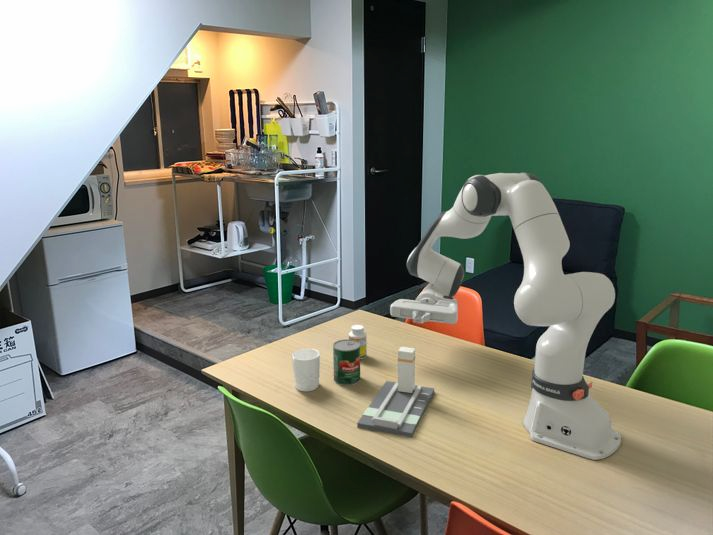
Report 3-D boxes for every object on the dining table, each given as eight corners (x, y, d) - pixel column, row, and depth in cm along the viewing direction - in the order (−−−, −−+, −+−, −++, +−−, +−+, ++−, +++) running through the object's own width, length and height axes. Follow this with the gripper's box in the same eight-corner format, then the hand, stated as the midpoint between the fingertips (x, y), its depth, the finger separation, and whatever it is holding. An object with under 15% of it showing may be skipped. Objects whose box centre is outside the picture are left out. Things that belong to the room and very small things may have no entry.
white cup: (319, 392, 161) (318, 360, 159) (291, 392, 162) (290, 360, 159) (321, 379, 169) (320, 348, 166) (295, 379, 169) (293, 348, 167)
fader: (414, 388, 160) (415, 348, 157) (411, 393, 157) (412, 352, 154) (400, 386, 161) (401, 346, 158) (397, 391, 158) (397, 350, 155)
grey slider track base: (434, 392, 161) (434, 382, 160) (411, 437, 139) (411, 426, 138) (386, 384, 166) (386, 375, 165) (357, 427, 144) (357, 416, 143)
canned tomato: (348, 388, 164) (347, 352, 161) (328, 380, 169) (327, 345, 166) (366, 378, 170) (365, 343, 167) (346, 370, 175) (345, 337, 172)
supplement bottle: (346, 355, 185) (345, 325, 182) (361, 352, 188) (361, 322, 185) (354, 362, 180) (353, 331, 178) (369, 358, 183) (369, 328, 180)
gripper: (397, 291, 181) (383, 306, 169) (462, 299, 174) (453, 314, 162) (396, 310, 183) (383, 326, 170) (461, 318, 176) (452, 335, 163)
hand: (417, 320), depth 166 cm, fingers closed
